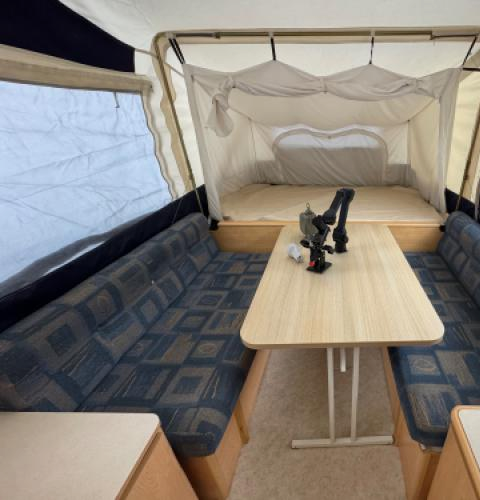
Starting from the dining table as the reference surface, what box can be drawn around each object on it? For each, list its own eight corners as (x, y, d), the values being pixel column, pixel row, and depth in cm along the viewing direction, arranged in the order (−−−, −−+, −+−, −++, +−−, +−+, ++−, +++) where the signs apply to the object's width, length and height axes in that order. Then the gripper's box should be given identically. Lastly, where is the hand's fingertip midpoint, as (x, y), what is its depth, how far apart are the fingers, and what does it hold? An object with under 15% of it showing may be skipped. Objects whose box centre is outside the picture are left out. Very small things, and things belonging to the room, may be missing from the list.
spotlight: (298, 251, 163) (296, 240, 158) (307, 261, 156) (305, 250, 151) (286, 256, 160) (284, 245, 155) (295, 266, 153) (293, 256, 147)
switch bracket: (320, 274, 141) (320, 257, 137) (306, 269, 145) (306, 253, 141) (331, 264, 150) (331, 249, 146) (318, 261, 154) (318, 245, 150)
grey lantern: (318, 240, 182) (317, 205, 171) (305, 242, 179) (303, 206, 168) (311, 233, 194) (310, 199, 183) (299, 234, 191) (298, 200, 180)
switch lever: (313, 268, 138) (312, 264, 136) (308, 266, 140) (307, 262, 138) (323, 255, 145) (322, 251, 143) (318, 254, 147) (317, 250, 145)
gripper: (301, 224, 139) (289, 251, 135) (332, 231, 131) (320, 259, 127) (309, 234, 149) (298, 259, 144) (339, 241, 141) (328, 267, 136)
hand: (310, 261), depth 138 cm, fingers closed, pressing on switch bracket
